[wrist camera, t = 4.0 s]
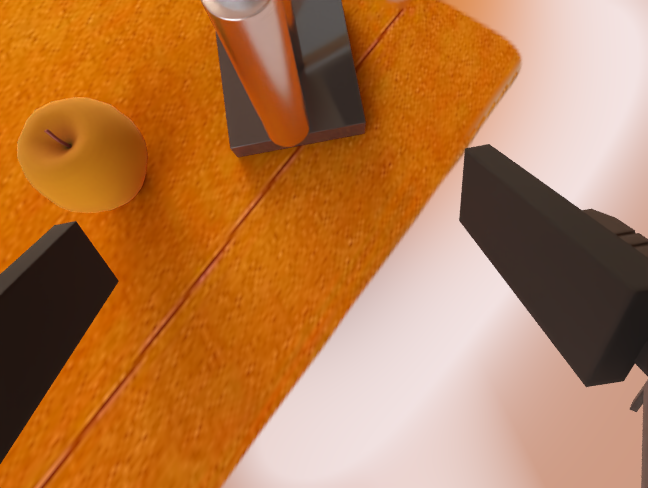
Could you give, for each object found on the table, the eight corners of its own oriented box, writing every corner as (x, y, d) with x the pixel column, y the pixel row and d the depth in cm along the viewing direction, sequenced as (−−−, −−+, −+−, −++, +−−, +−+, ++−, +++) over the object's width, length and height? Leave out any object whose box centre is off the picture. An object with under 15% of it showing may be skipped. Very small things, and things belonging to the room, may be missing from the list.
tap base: (220, 27, 34) (212, 10, 32) (339, 3, 33) (338, -16, 31) (237, 157, 31) (230, 148, 29) (364, 133, 31) (366, 122, 29)
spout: (265, 49, 30) (149, -295, 13) (300, 42, 30) (232, -316, 12) (285, 185, 28) (181, -1, 10) (323, 178, 28) (281, -22, 10)
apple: (180, 214, 31) (113, 181, 22) (88, 235, 31) (-16, 211, 22) (168, 125, 32) (100, 61, 23) (80, 146, 33) (-20, 90, 24)
